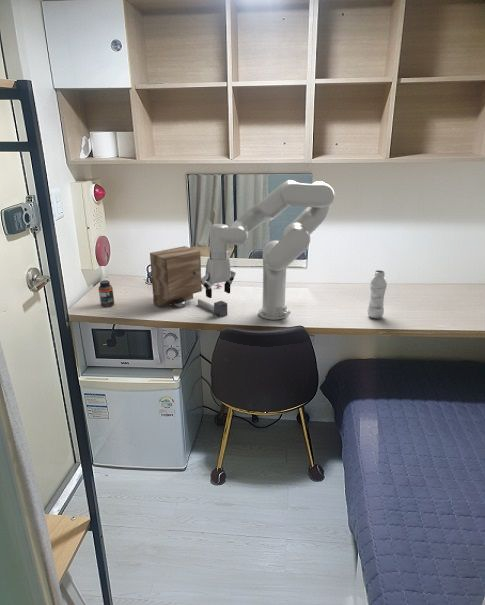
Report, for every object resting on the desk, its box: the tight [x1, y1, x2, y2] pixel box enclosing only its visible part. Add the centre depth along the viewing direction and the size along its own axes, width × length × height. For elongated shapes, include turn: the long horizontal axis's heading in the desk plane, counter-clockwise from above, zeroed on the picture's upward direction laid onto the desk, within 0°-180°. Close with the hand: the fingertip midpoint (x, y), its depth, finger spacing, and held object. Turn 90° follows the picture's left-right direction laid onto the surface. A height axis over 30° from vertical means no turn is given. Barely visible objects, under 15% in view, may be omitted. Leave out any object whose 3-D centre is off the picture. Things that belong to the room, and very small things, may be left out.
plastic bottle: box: [367, 270, 388, 319], centre depth 188 cm, size 6×7×20 cm
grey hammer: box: [197, 298, 228, 318], centre depth 198 cm, size 18×4×6 cm, turn 40°
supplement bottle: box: [98, 279, 115, 308], centre depth 203 cm, size 6×6×11 cm
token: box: [173, 299, 187, 309], centre depth 203 cm, size 5×5×2 cm
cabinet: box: [149, 245, 203, 309], centre depth 202 cm, size 13×18×24 cm
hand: (218, 294), depth 191 cm, fingers open, 9 cm apart
